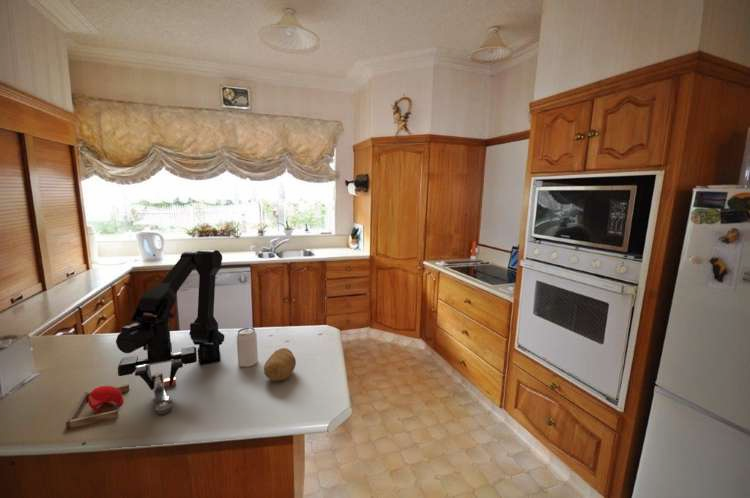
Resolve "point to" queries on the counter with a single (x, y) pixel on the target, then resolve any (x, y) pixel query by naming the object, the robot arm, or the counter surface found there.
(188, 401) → the counter surface
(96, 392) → the cap
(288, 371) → the potato
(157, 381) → the crank
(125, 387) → the bay
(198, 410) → the counter surface
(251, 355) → the can
